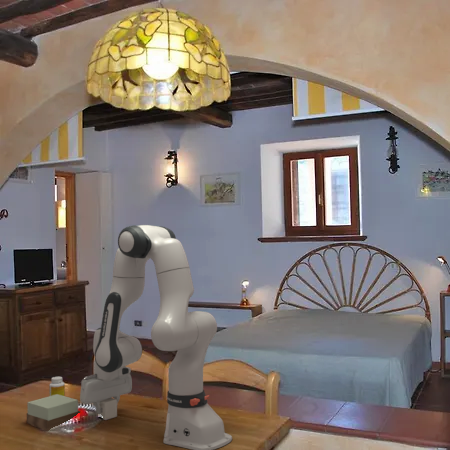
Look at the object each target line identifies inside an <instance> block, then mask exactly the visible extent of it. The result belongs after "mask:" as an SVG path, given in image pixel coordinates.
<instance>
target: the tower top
mask: <svg viewBox="0 0 450 450" xmlns="http://www.w3.org/2000/svg"><path fill="white" fill-rule="evenodd" d="M78 411H79V400H78V399H75V398H72V397H69V396H66V395H65V396H62V395H58V394H56V395H52V396H46V397H42V398H39V399H35V400H31V401H27V413H28V414H29V415H32V416H35V417H38V418H41V419H44V420H48V421H49V420H52V419H55V418H59V417H62V416H65V415H68V414H71V413H75V412H78Z"/></svg>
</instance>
